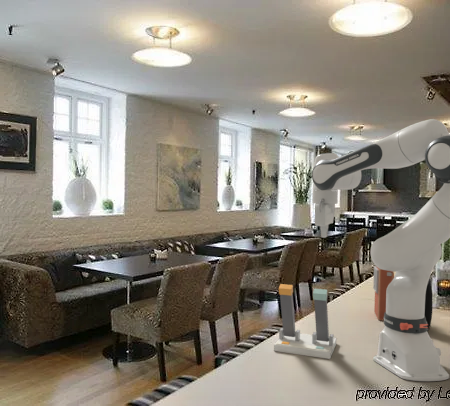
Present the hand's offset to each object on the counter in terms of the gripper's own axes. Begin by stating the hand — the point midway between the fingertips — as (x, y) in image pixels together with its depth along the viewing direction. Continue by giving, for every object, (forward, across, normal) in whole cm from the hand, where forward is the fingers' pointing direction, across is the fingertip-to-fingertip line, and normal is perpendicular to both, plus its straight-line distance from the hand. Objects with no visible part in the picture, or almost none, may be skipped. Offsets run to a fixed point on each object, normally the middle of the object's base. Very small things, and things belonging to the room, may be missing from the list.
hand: (324, 237), depth 163 cm
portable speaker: (+35, +20, -33) cm, 52 cm away
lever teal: (+32, -16, -3) cm, 36 cm away
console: (+35, -16, +3) cm, 39 cm away
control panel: (+35, +34, -20) cm, 53 cm away
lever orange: (+32, -16, +8) cm, 36 cm away
